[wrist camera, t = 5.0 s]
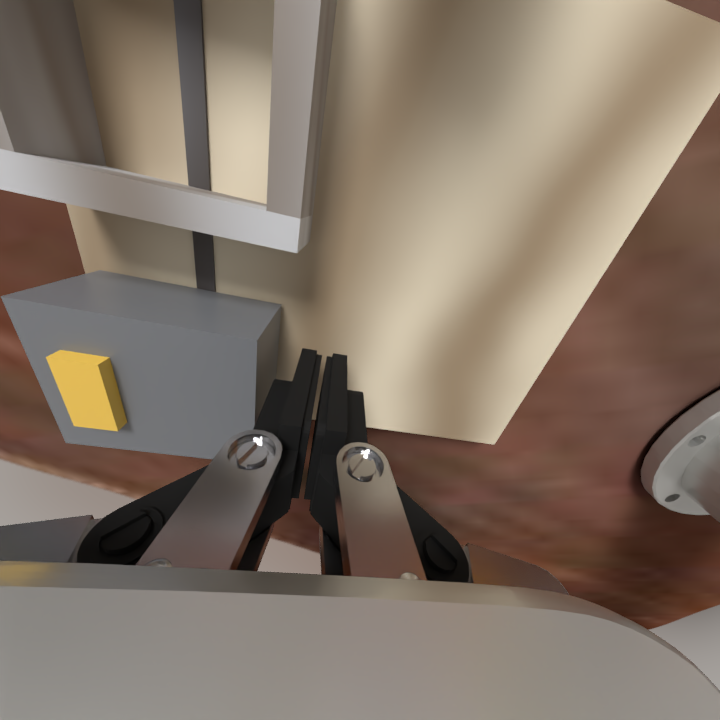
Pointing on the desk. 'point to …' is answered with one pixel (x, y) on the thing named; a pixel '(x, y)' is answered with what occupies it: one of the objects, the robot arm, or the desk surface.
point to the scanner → (148, 361)
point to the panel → (363, 168)
